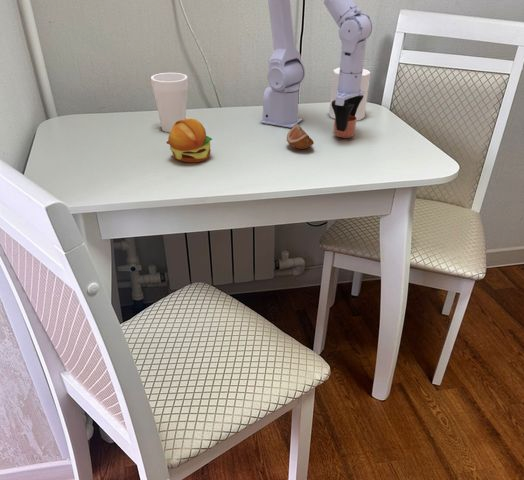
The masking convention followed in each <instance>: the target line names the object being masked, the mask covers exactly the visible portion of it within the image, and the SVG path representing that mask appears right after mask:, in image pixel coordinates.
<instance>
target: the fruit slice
mask: <svg viewBox="0 0 524 480" xmlns="http://www.w3.org/2000/svg"><path fill="white" fill-rule="evenodd" d="M286 142H287V143H288V144H289V145H290V146H291V147H293V148H295V149H299V150H304V149H307V148H310V147H312V146H313V145H314V144H315V142H314V140H313V139H312V138H311V137H310V136H309V134H307V132H305V130H304V129H303V128H302V127H301V126H300V125H299V123H298V124H296V125H295V126H294V127H293V128H290V129H289V131H288V133H287V134H286Z"/></svg>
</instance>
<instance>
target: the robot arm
mask: <svg viewBox="0 0 524 480" xmlns="http://www.w3.org/2000/svg"><path fill="white" fill-rule="evenodd" d="M267 2H268V12H269V20H270V28H271V29H270V30H271V36H272V37H271V38H272V46H273V52H272V54H271V55H270V57H269V59H268V71H267V82H268V84H269V86H266V88H265V90H264V92H263V97H262V121H261V124H266V125H272V126H277V127H283V128H289V129H292V128H293V127H294V126H295V125H296V124H298V125H299V123H301V122H302V121H303V118H302V117H298V115H299V98H300V97H299V95H300V87H301V83H302V82H303V80H305V77H306V69H305V65H304V64H303V61H302V57H301V53H300V52H299V51H298V49H296V47H295V38H294V37H295V36H294V26H293V18H292V17H293V16H292V7H291V6H292V5H291V0H267ZM323 5H324V6H325V8H326V9H327V11H328V12H329V14H330V16H331V17H332V19H333V20H334V22H335V24H336V25H337V26H338V28H339V29H338V37H339V39H340V41H341V47H340V48H341V52H340V53H341V55H340V61H339V68H340V71H339V82H338V89H337V96H336V100H334V101H332V108H333V110H334V113H335V118H336V127H337V130H338V131H345V130H346V127H347V123H348V119H349V115H352V116H355V114H356V111H357V109H358V106H359V104H360V102H361V100H362V99H363V96H364V93H365V91H361V89H360V88H361V80H362V72H363V69H364V63H365V56H366V48H367V46H366V45H367V40H368V39H369V37H370V36H371V34H372V32H373V23H372V20H371V17H370V15H368V13H365V12H362V9H361V7H358V6H357V4H356V3H355V0H323Z"/></svg>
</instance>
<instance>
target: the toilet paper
mask: <svg viewBox="0 0 524 480" xmlns="http://www.w3.org/2000/svg"><path fill="white" fill-rule="evenodd" d="M339 71H340V67H337V68H335V69H333V70H332V81H331V92H330V103H329V116H330V118H332V119H334V120H335V113H334V110H333V108H332V101H334V100H336V96H337V89H338V82H339ZM370 79H371V71H369V70H368V69H366V68H363V72H362V80H361V88H360V89H361V91H365V93H364V96H363V99H362V100H361V102H360V104H359V106H358V109H357V111H356V114H355V117H356V118H357V120H356V121H361V120H363V119H364V118H366V117H365V116H366V110H367V109H366V108H367V102H368V93H369V87H370Z"/></svg>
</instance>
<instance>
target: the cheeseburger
mask: <svg viewBox="0 0 524 480" xmlns="http://www.w3.org/2000/svg"><path fill="white" fill-rule="evenodd" d="M206 131H207V130H206V127H204V125H203V124H202V123H201V121H199V120H197V119H196V118H186V119H184V120H180V121H177V122H176V123H175V124H174V126H173V128H172V130H171V132H169V134H168V138H167V139H168V140H167V141H165V142H166V144H167V145H169V150H170V152H171V153H172V155H173V158H174V159H176V160H177V161H180V162H184V163H200V162H203V161H206V160H207V159H209V158H210V155H211V141H212V140H213V138H211V137H210V136H208V135H207V132H206Z"/></svg>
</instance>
